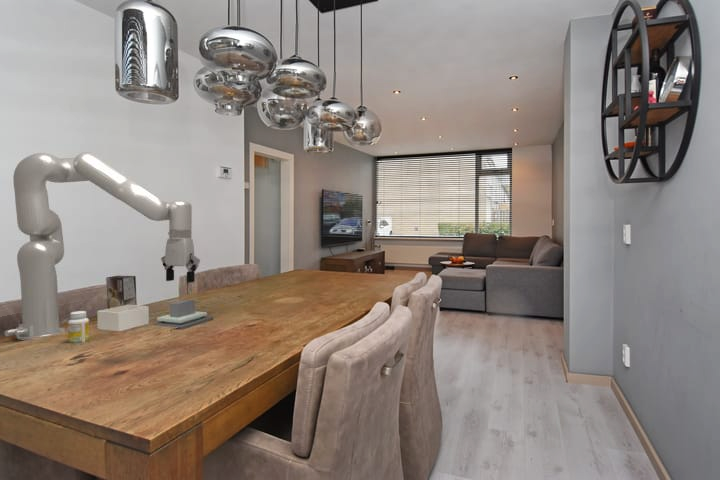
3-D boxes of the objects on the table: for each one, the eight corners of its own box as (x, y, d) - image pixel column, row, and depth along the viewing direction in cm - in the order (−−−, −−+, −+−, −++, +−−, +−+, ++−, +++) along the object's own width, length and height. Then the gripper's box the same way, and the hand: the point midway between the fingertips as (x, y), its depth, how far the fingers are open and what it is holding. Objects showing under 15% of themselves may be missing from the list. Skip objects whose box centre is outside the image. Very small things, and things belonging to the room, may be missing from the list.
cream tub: (119, 333, 137) (118, 313, 137) (97, 331, 141) (97, 311, 140) (149, 325, 148) (148, 306, 148) (128, 323, 152) (128, 304, 152)
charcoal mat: (181, 329, 142) (181, 326, 142) (150, 326, 147) (150, 323, 147) (213, 319, 157) (213, 316, 157) (184, 316, 162) (184, 314, 162)
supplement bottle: (73, 346, 123) (72, 314, 122) (65, 344, 126) (64, 313, 125) (93, 342, 127) (92, 311, 127) (84, 339, 130) (83, 309, 130)
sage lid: (180, 325, 144) (180, 305, 143) (157, 323, 147) (156, 303, 147) (207, 317, 156) (206, 299, 155) (184, 315, 160) (184, 297, 159)
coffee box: (138, 315, 166) (136, 275, 165) (124, 318, 159) (123, 277, 159) (120, 314, 168) (119, 275, 168) (106, 317, 162) (105, 277, 162)
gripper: (154, 234, 150) (154, 281, 150) (191, 235, 144) (191, 284, 144) (170, 234, 157) (170, 278, 157) (206, 235, 151) (206, 281, 151)
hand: (180, 281), depth 151 cm, fingers open, 9 cm apart
